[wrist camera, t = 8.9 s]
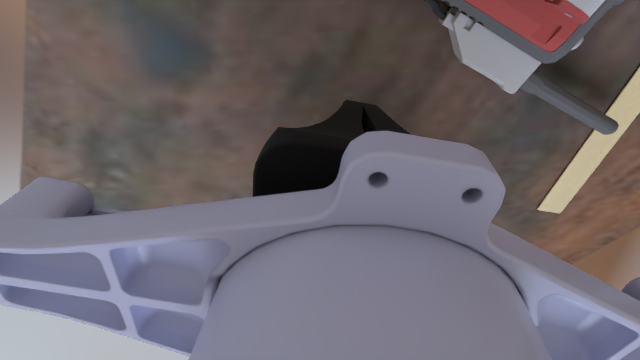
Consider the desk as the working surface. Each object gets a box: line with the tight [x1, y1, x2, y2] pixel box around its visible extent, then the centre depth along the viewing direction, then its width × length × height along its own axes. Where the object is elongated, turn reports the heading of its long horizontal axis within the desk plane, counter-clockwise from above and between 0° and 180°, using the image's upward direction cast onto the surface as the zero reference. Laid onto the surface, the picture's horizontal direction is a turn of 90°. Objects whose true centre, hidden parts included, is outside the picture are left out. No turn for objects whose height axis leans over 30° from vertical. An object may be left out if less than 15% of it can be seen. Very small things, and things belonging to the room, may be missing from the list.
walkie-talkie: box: [424, 0, 624, 135], centre depth 17 cm, size 9×4×20 cm
